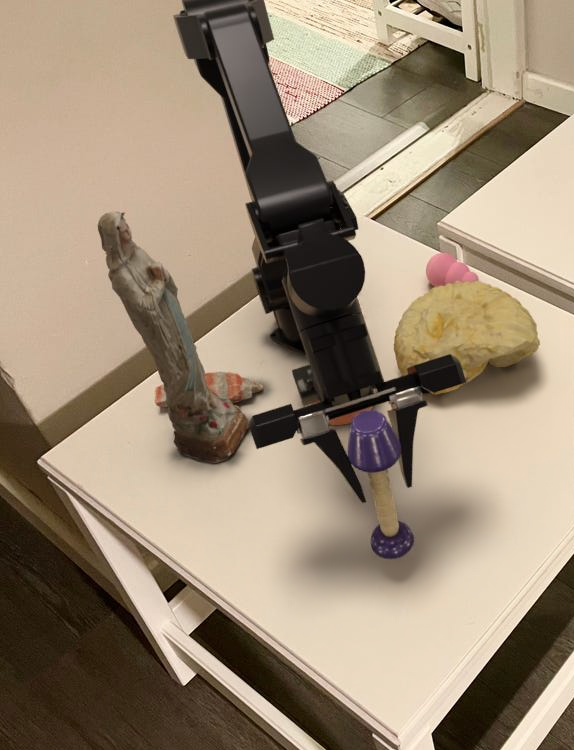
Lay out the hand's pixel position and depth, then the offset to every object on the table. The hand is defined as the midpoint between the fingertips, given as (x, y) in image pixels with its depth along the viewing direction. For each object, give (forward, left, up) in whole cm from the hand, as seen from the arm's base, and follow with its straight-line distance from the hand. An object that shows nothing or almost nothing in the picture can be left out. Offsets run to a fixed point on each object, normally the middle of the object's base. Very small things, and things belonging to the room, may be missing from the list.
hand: (387, 494), depth 80 cm
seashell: (-11, +28, -13) cm, 32 cm away
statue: (-30, +4, -13) cm, 32 cm away
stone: (-33, +6, -12) cm, 35 cm away
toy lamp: (-1, +1, -9) cm, 9 cm away
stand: (-21, +16, -13) cm, 29 cm away
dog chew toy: (-24, +39, -10) cm, 47 cm away
